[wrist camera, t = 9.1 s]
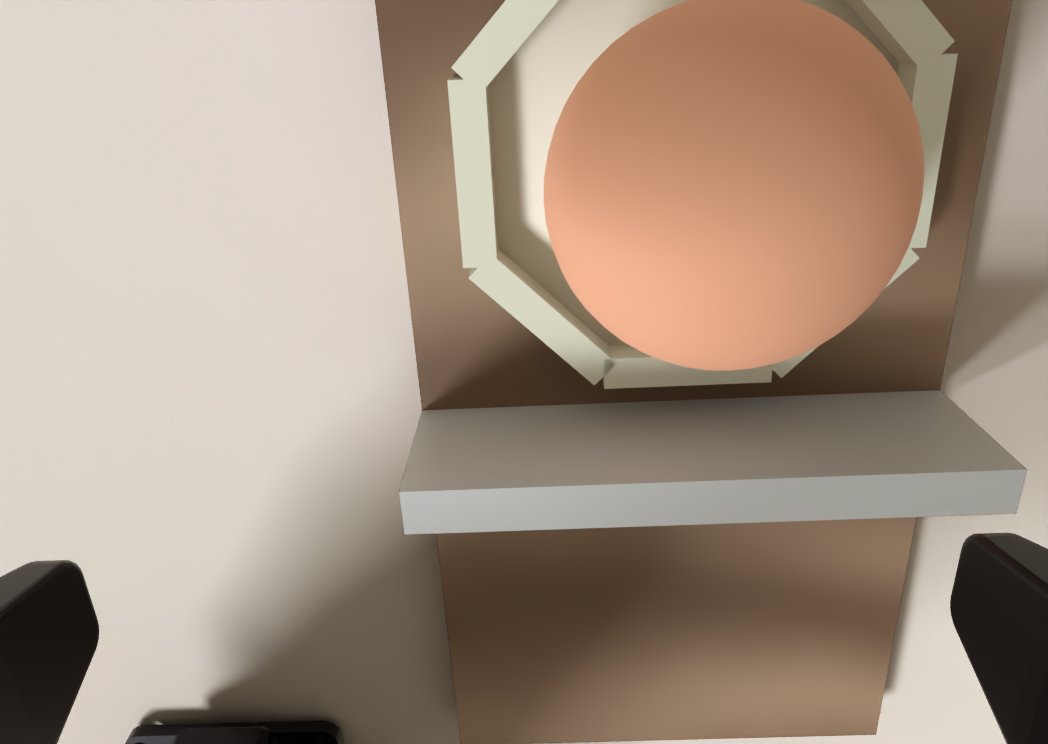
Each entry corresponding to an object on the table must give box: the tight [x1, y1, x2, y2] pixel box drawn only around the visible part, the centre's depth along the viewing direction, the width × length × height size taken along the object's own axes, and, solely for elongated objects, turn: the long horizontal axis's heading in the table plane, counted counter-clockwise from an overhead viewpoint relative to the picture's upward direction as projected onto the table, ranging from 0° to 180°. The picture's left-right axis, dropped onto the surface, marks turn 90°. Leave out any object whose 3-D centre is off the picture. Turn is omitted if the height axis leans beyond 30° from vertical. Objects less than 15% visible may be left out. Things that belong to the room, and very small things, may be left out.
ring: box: [447, 0, 958, 389], centre depth 16 cm, size 9×9×1 cm
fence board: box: [375, 0, 1027, 744], centre depth 17 cm, size 22×12×4 cm, turn 3°
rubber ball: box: [544, 0, 924, 371], centre depth 13 cm, size 6×6×6 cm
